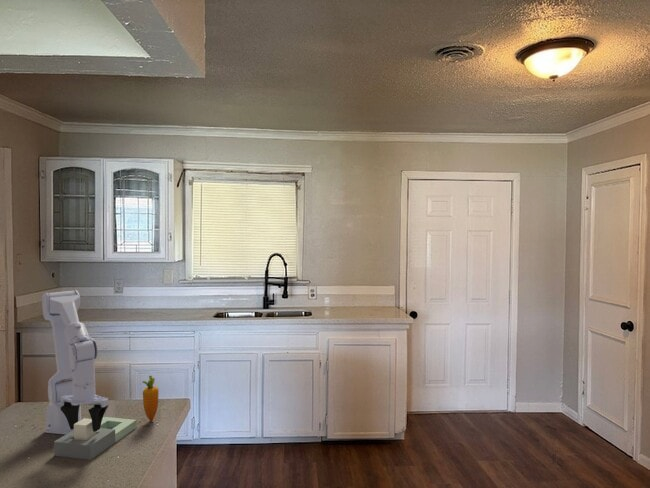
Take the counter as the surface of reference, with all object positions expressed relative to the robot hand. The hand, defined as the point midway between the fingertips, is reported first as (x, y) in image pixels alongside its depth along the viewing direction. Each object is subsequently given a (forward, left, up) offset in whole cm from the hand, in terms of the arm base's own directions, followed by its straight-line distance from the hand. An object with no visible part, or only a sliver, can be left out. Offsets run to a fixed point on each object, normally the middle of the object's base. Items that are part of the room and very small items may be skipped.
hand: (85, 429), depth 126 cm
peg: (0, 0, -4) cm, 4 cm away
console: (0, +5, -6) cm, 8 cm away
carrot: (+8, +20, -6) cm, 22 cm away
